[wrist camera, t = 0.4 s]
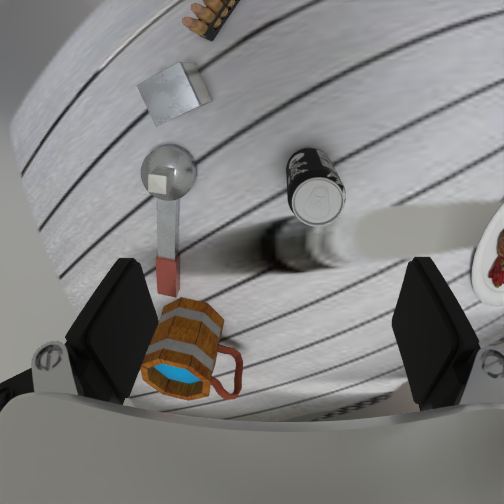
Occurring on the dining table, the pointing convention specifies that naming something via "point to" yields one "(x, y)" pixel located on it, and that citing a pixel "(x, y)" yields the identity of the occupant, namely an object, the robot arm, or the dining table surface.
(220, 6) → the ammunition clip
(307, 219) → the beverage can
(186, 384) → the mug
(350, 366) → the dining table surface
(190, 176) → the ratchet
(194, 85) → the brushed metal block
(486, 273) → the plated food
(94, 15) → the dining table surface
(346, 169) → the dining table surface
